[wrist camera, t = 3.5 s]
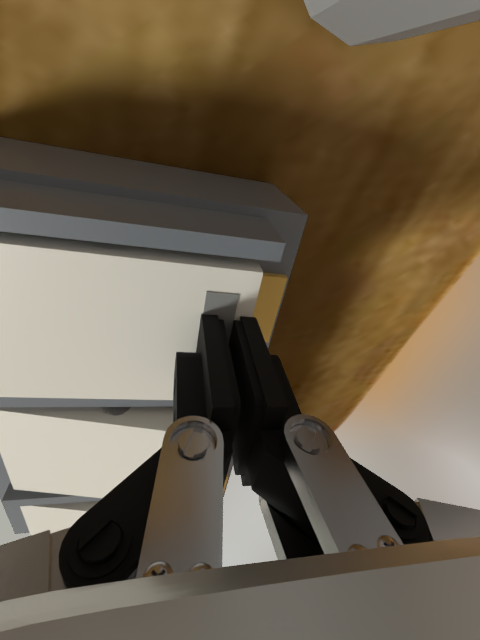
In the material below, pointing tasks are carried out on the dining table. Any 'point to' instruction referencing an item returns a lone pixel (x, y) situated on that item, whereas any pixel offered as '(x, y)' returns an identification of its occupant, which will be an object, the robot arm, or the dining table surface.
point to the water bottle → (389, 18)
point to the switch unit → (142, 237)
